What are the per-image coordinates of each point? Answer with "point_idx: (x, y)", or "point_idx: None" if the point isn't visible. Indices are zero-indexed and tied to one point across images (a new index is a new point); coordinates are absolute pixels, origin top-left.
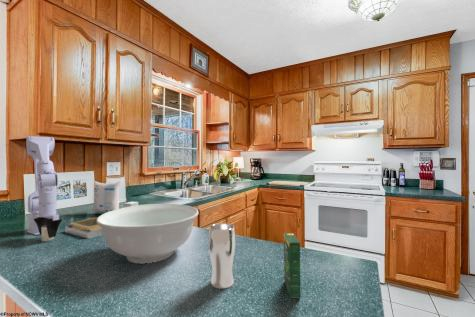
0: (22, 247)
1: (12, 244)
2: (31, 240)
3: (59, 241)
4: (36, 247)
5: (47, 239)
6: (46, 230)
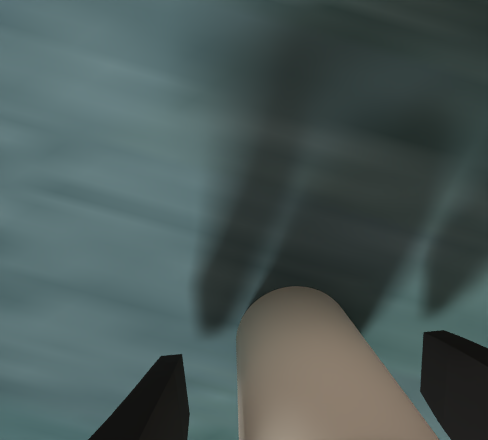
0: (218, 70)
1: (476, 33)
2: (434, 225)
3: (102, 388)
4: (69, 172)
5: (240, 332)
6: (250, 426)
